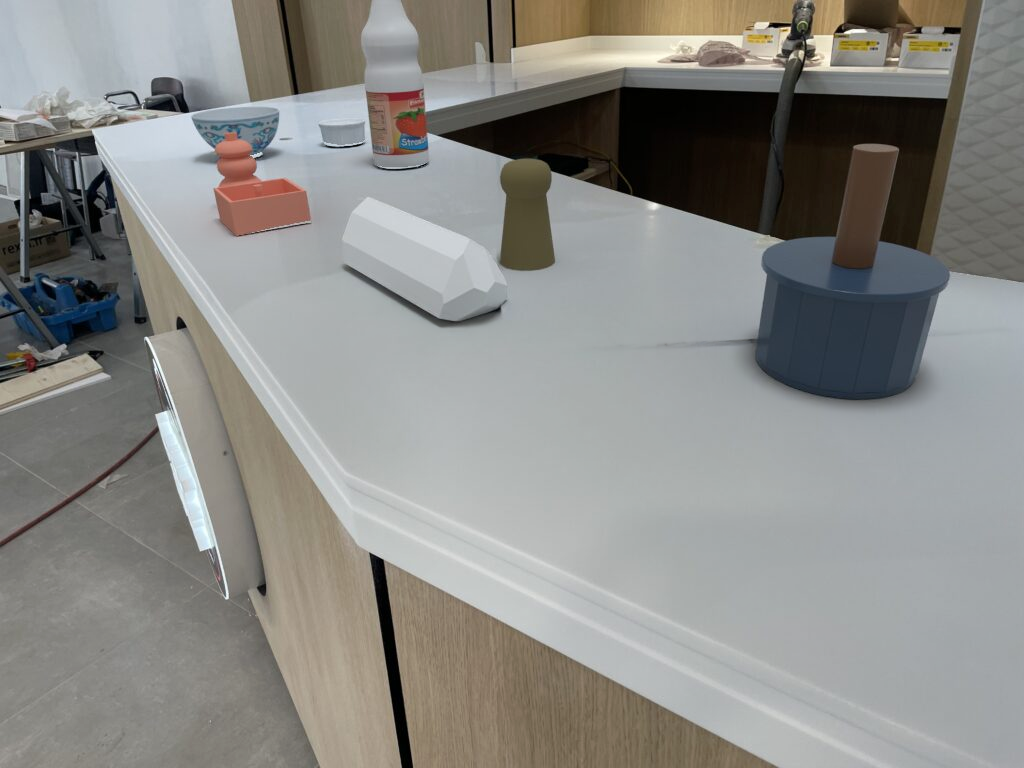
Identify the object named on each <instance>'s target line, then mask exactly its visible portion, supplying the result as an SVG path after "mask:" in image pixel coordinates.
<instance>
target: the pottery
mask: <svg viewBox="0 0 1024 768" xmlns="http://www.w3.org/2000/svg"><path fill="white" fill-rule="evenodd" d="M224 135H225V140H226V141H223V142H220V143H219V144H218V145H217V146H216V147H215V149H214V152H215V154H216V155H217V156H218V157H220V158H219V159H217V162H216V169H217V171H218V173H219V174H220V175H221V176H223V177H224V178H223V179H222V180H221V181H220V183H219V184H218V187H213V193H214V198H215V202H216V208H217V212H218V216H219V219H220V221H221V222H222V224H224V225H225V226H226V227H227V228H228V230H229V231H231V232H232V234H233V235H234V236H235V237H240V236H239V235H242V236H245V235H244V234H248V233H252V232H257V231H261V230H265V229H270V228H274V227H279V226H284V225H290V224H294V223H300V222H305V221H310V220H311V221H312V219H311V212H310V206H309V200H308V199H309V198H308V194H307V193H308V192H307V190H306V189H304V188H303V187H301V186H299V185H298V184H296V183H294V182H293V181H291V180H290V179H288V178H286V177H282V178H275V179H268V180H267V179H266V180H262V179H260V178H259V177H258V176H256V175H254V174H255V173H256V171H257V168H258V164H257V163H258V162H257V161H256V159H254V158H253V157H252V156H250V155H248V154H250V153H251V151H252V146H251V144H249V143H248V142H246V141H244V140H238V137H237V132H228V133H224ZM248 235H249V234H248Z"/></svg>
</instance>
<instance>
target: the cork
mask: <svg viewBox="0 0 1024 768" xmlns="http://www.w3.org/2000/svg"><path fill="white" fill-rule="evenodd" d="M501 168H502V169H501V171H500V175H499V182H500V186H501V189H502V191H503V192H504V194H505V204H504V205H505V206H504V215H503V216H504V217H503V225H502V235H501V246H500V256H499V264H500V266H501V267H503V268H505V269H508V270H512V271H521V272H524V271H525V272H527V271H528V272H531V271H540V270H544V269H548V268H550V267H553V265H554V264H555V263H556V257H555V250H554V241H553V233H552V228H551V219H550V213H549V212H550V211H549V205H548V196H547V193H548V192H549V191H550V189H551V186H552V177H553V176H552V169H551V168H550V166H549V164H548V162H545V161H543V160H541V159H536V158H518V159H513V160H510V161H508V162H506V163H504V164H503V167H501Z"/></svg>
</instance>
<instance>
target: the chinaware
mask: <svg viewBox="0 0 1024 768" xmlns="http://www.w3.org/2000/svg"><path fill="white" fill-rule="evenodd" d="M190 119H191V121H192V124H193V125H194V127H195V129H196V130H197V133H198V134H199V136H200V137H201V138H202V139H203V140H204V142H206V143H207V145H209V146H210V147H211V148H212V149H214V150H215V147H216V146H217V145H218V144H219V143H220V142H223V141H226V140H225V135H224V133H228V132H237V137H238V140H244V141H246V142H248V143H249V144H251V146H252V151H251V153H250V154H248V155H254V154H257V153H260V152H262V151H263V152H264V150H266V148H268V146H269V145H271V143H272V142H273V140H274V138H275V137H276V134H277V132H278V129H279V125H280V124H279V123H280V109H279V108H277V107H271V106H235V107H226V108H225V107H224V108H216V109H210V110H209V109H208V110H204V111H199V112H196V113H193V114H191V116H190Z"/></svg>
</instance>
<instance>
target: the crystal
mask: <svg viewBox="0 0 1024 768" xmlns="http://www.w3.org/2000/svg"><path fill="white" fill-rule="evenodd" d="M341 249H342V256H343V257H342V258H343V263H344V264H345V265H347V266H348V267H351V268H352V269H354V270H356V271H357V272H359V273H361V274H363V275H364V276H366V277H367V278H369V279H371V280H373V281H374V282H376V283H377V284H379V285H381V286H383V287H385V288H386V289H388V290H389V291H391V292H393V293H394V294H396V295H398V296H400V297H402V298H403V299H405V300H407V301H408V302H410V303H412V304H413V305H415V306H417V307H419V308H420V309H422V310H423V311H425V312H427V313H429V314H431V315H432V316H434V317H436V318H437V319H440V320H445V321H453V322H461V321H465V320H468V319H472V318H475V317H478V316H481V315H484V314H488V313H491V312H493V311H496V310H497V309H499V308H500V307H501V306H502V304H504V302H505V301H506V300H507V299H508V287H509V285H508V283H507V281H506V278H505V276H504V274H503V273H502V271H501V270H500V268H499V266H498V264H497V262H496V261H495V259H494V258H493V256H492V255H491V253H490V252H489V250H487V249H486V248H485V247H483V245H481V244H479V243H478V242H476V241H475V240H473V239H472V238H470V237H467V236H464V235H463V234H460V233H458V232H455V231H453V230H450V229H447V228H445V227H444V226H440V225H438V224H435V223H434V222H430V221H428V220H425V219H423V218H422V217H420V216H419V217H418V216H417V215H414V214H412V213H408V212H406V211H404V210H401V209H399V208H398V207H397V208H396V207H395V206H392V205H390V204H387V203H385V202H382V201H380V200H377V199H375V198H372V197H371V196H367V197H365V198H364V200H363V201H361V203H360V204H358V205H357V206H356V207H355V208H354V209H353V210H352V211H351V213H350V216H349V218H348V221H347V225H346V227H345V229H344V232H343V235H342V238H341Z"/></svg>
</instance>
